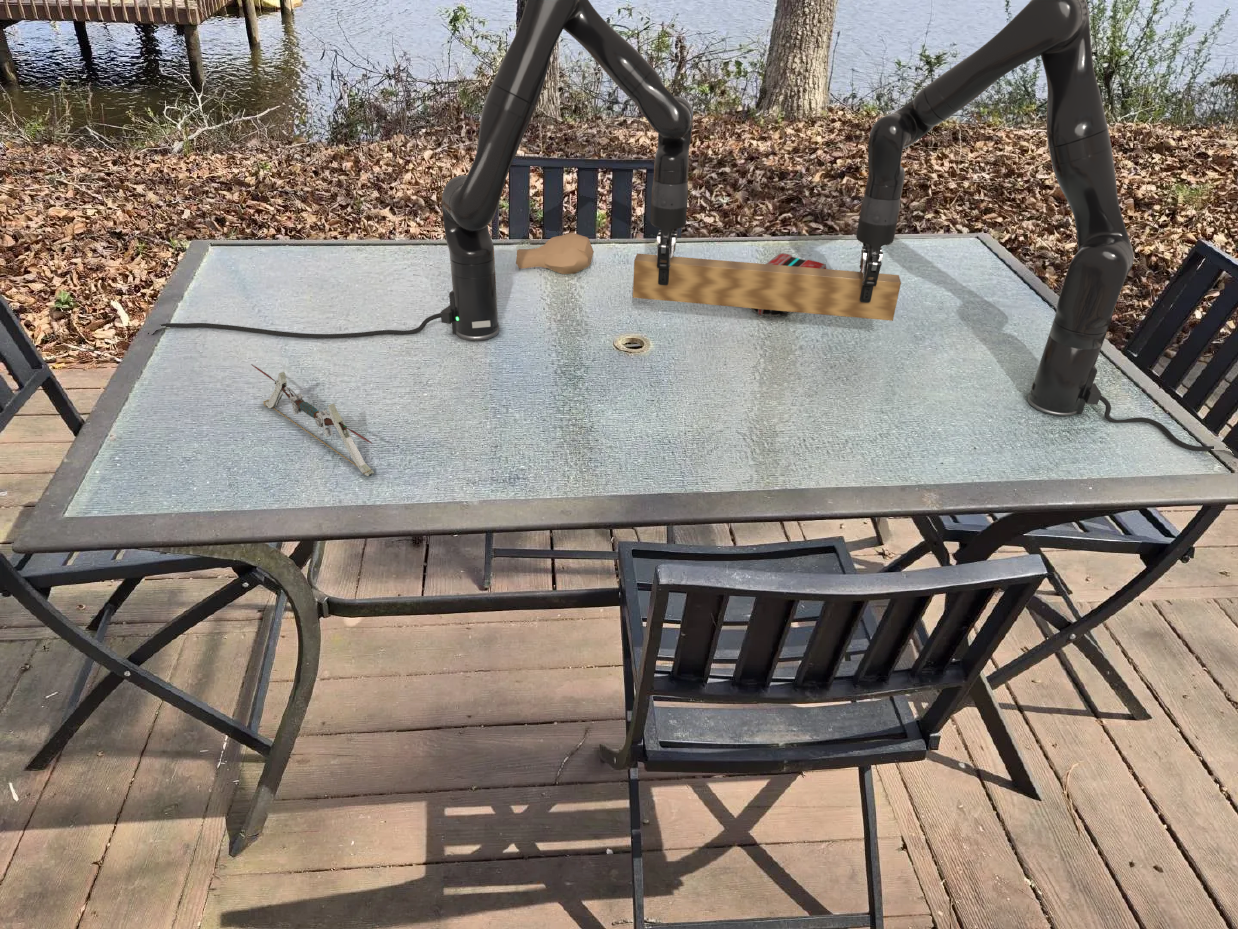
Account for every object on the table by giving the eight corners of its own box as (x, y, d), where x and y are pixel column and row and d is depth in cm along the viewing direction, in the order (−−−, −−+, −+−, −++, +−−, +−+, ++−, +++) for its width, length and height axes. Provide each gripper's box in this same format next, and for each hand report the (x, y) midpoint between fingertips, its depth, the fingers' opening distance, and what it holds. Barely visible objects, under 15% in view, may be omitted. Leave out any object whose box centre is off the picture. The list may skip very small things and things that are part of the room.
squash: (595, 277, 221) (590, 246, 215) (517, 285, 222) (510, 253, 216) (596, 255, 229) (591, 224, 223) (520, 262, 230) (514, 231, 224)
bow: (384, 479, 145) (376, 427, 139) (374, 483, 144) (366, 432, 138) (264, 397, 166) (253, 350, 161) (255, 401, 165) (244, 353, 160)
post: (632, 297, 192) (634, 260, 187) (635, 290, 196) (637, 253, 191) (892, 320, 186) (901, 282, 181) (890, 312, 189) (898, 274, 184)
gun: (708, 284, 207) (784, 305, 199) (760, 245, 229) (831, 262, 221) (706, 302, 209) (781, 323, 201) (758, 261, 231) (828, 278, 223)
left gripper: (683, 213, 175) (678, 294, 185) (690, 193, 187) (684, 269, 196) (646, 210, 176) (643, 290, 186) (655, 190, 188) (651, 266, 197)
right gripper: (901, 230, 170) (885, 312, 180) (893, 208, 182) (878, 285, 192) (862, 227, 171) (847, 309, 181) (857, 205, 183) (843, 283, 192)
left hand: (664, 279), depth 191 cm, fingers closed on post, 4 cm apart
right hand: (863, 296), depth 186 cm, fingers closed on post, 4 cm apart
